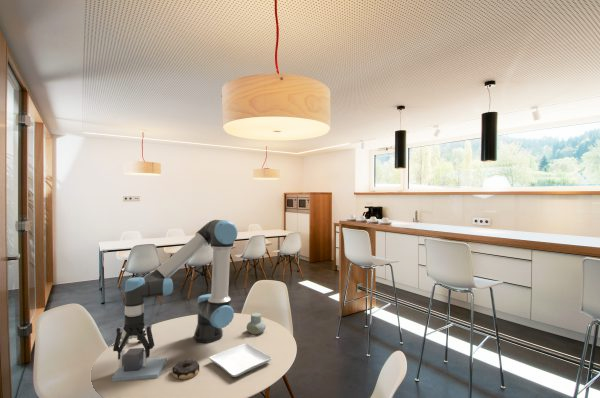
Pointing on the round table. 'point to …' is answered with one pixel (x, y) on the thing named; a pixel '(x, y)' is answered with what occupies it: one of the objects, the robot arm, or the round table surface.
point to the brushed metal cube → (133, 359)
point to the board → (142, 371)
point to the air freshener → (256, 324)
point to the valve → (131, 336)
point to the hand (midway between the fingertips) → (133, 365)
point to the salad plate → (240, 359)
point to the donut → (185, 369)
